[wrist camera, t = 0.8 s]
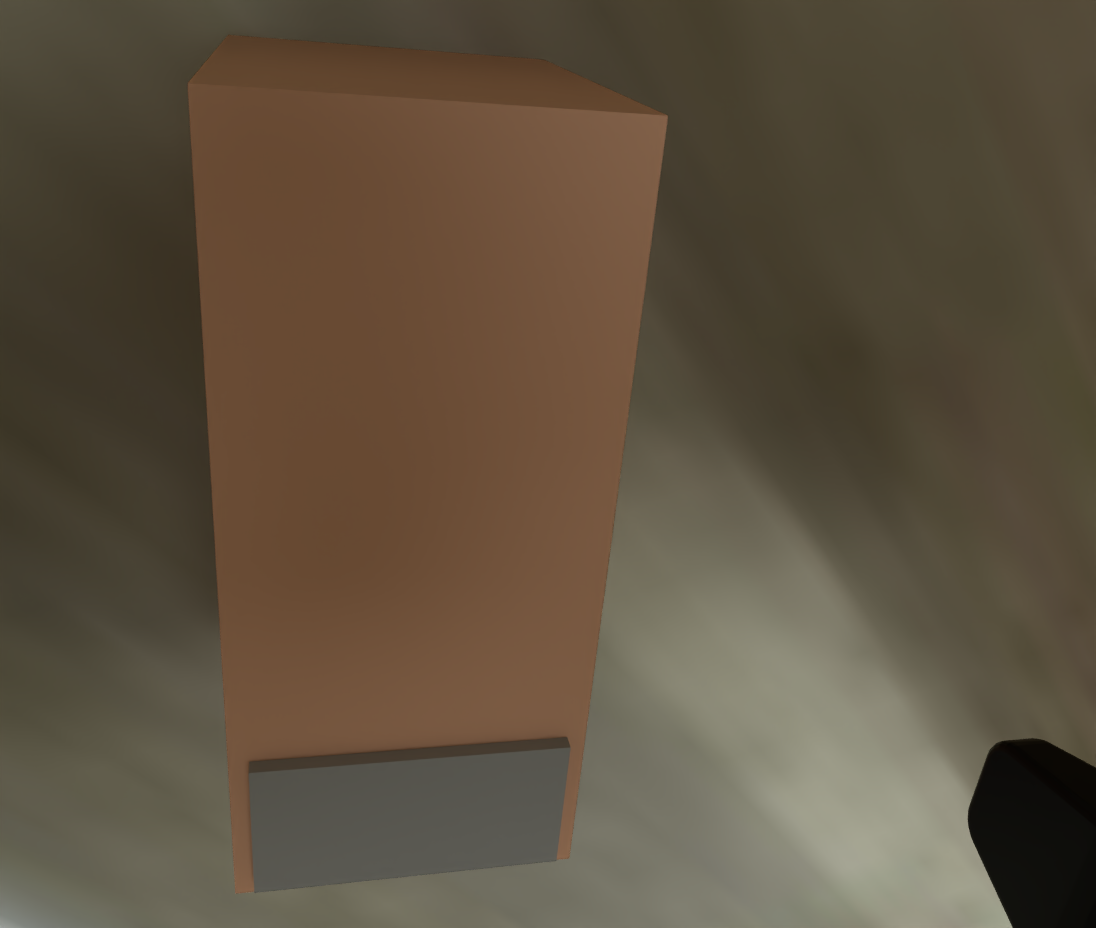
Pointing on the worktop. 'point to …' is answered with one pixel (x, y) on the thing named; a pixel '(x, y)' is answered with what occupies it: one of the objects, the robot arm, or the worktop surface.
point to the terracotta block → (412, 441)
